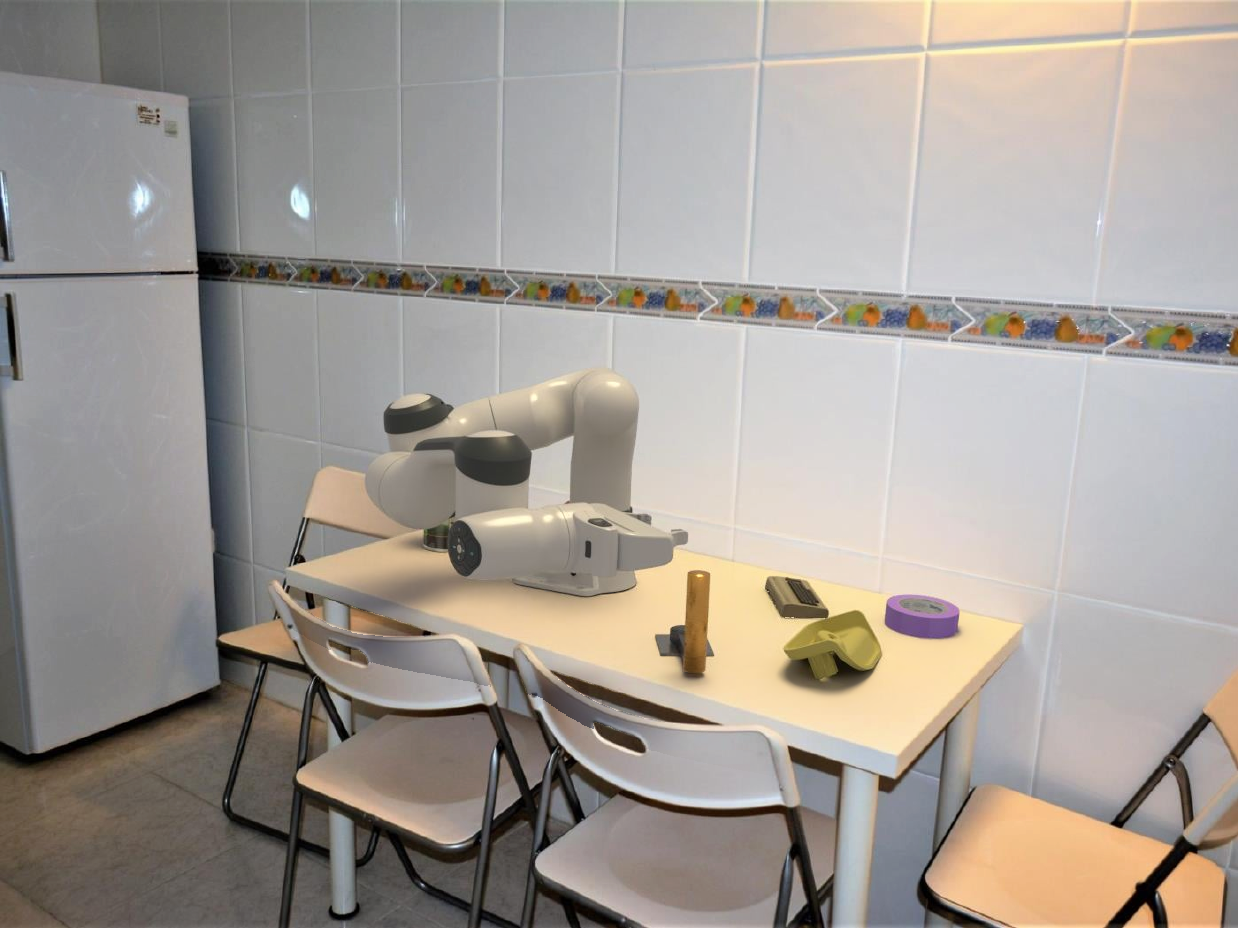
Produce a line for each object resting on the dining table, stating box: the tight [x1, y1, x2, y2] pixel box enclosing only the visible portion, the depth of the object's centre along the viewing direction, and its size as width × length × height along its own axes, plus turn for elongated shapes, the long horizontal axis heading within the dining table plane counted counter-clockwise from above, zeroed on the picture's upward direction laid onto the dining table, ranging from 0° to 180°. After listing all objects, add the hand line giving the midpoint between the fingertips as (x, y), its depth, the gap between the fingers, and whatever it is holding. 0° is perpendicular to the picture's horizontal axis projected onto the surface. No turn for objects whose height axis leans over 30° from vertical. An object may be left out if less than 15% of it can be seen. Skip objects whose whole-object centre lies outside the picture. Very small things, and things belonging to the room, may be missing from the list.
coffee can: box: [422, 517, 455, 553], centre depth 207 cm, size 10×10×14 cm
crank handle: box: [669, 569, 711, 674], centre depth 150 cm, size 15×4×14 cm, turn 4°
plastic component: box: [782, 609, 883, 680], centre depth 151 cm, size 20×7×10 cm
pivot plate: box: [654, 633, 715, 657], centre depth 157 cm, size 8×8×1 cm
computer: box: [764, 575, 830, 619], centre depth 179 cm, size 16×8×3 cm, turn 2°
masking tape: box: [884, 594, 961, 640], centre depth 169 cm, size 12×12×4 cm
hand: (666, 527), depth 139 cm, fingers open, 8 cm apart
